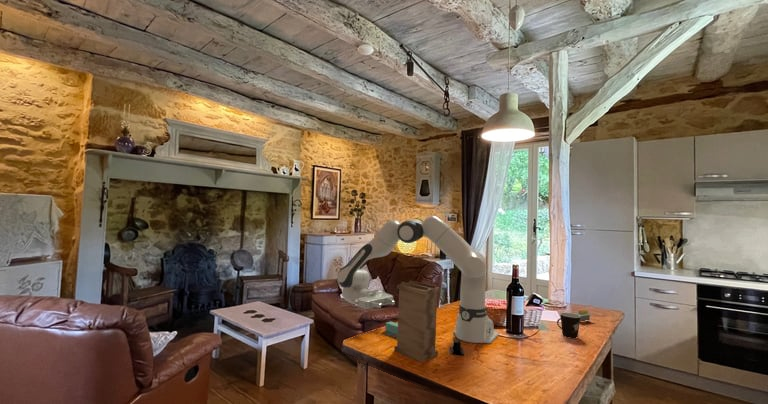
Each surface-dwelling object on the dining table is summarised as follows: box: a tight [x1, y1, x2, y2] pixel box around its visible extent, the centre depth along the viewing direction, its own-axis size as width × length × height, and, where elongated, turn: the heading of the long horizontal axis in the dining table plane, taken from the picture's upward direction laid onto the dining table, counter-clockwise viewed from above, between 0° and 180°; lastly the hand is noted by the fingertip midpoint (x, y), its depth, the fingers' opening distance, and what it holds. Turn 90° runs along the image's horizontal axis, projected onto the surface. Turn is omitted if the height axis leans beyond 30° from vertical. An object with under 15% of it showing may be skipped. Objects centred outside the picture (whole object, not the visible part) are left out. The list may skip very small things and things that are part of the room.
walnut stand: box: [393, 280, 441, 363], centre depth 139 cm, size 10×14×28 cm
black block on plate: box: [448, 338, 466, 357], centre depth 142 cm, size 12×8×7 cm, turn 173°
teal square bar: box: [384, 321, 398, 335], centre depth 156 cm, size 4×22×4 cm, turn 46°
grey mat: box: [381, 330, 397, 340], centre depth 156 cm, size 9×22×1 cm, turn 46°
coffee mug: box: [556, 312, 581, 339], centre depth 167 cm, size 12×9×10 cm
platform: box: [575, 309, 593, 321], centre depth 192 cm, size 12×18×7 cm, turn 116°
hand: (387, 304), depth 165 cm, fingers open, 8 cm apart
